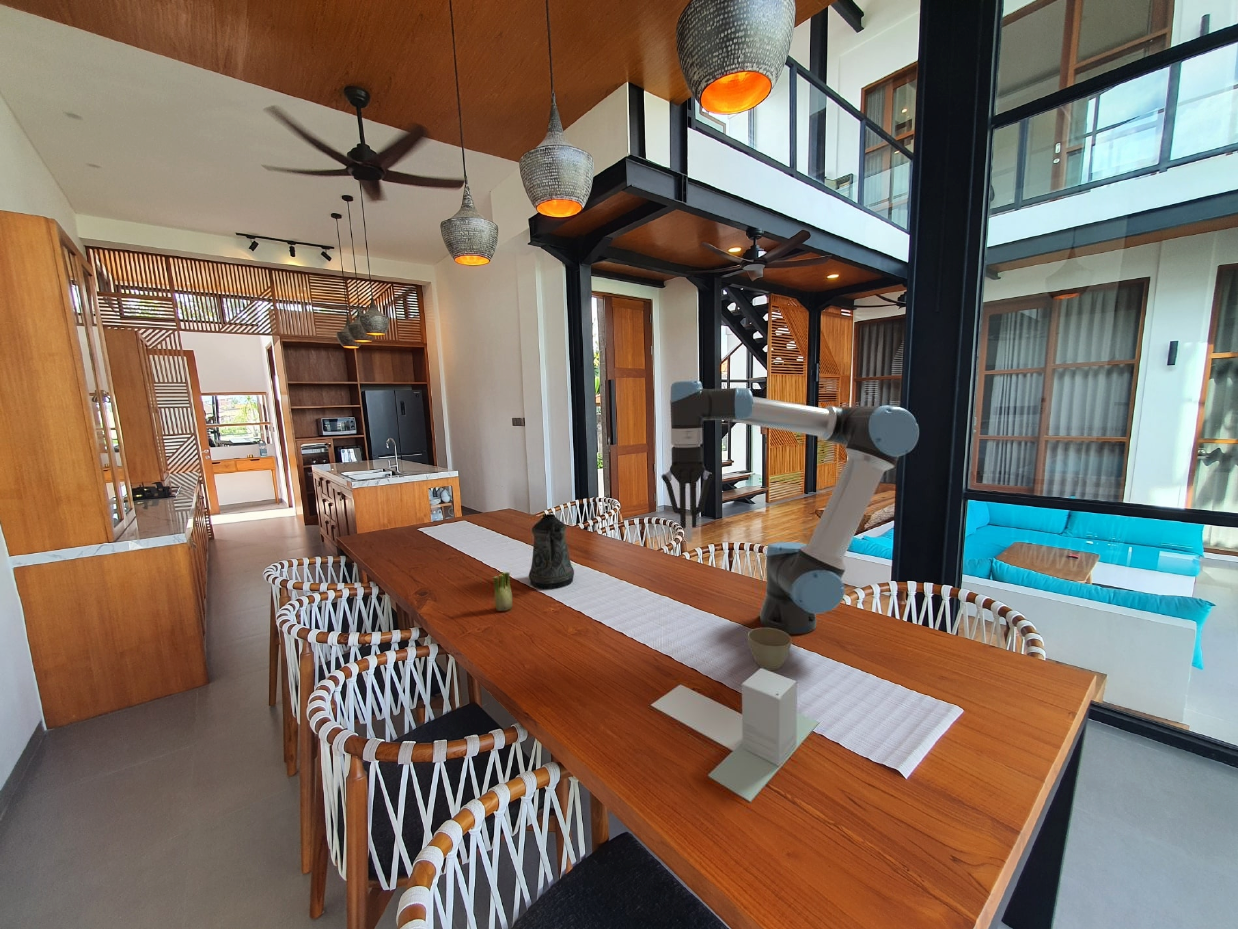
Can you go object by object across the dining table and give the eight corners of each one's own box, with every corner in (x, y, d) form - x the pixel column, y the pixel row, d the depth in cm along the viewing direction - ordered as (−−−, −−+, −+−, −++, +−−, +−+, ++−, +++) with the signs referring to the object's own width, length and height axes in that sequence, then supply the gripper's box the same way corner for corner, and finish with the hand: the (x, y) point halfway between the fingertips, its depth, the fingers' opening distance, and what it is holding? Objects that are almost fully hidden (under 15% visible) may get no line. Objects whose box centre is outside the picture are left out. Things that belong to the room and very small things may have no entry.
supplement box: (797, 746, 88) (798, 681, 86) (778, 768, 83) (779, 699, 81) (761, 727, 93) (761, 666, 92) (740, 747, 88) (740, 683, 86)
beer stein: (551, 571, 188) (548, 508, 185) (589, 580, 177) (586, 513, 174) (519, 584, 175) (515, 517, 172) (558, 595, 163) (555, 523, 160)
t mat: (624, 724, 96) (624, 723, 96) (701, 670, 114) (701, 670, 114) (750, 802, 76) (750, 801, 76) (819, 723, 94) (819, 722, 94)
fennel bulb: (496, 614, 150) (493, 577, 148) (493, 608, 154) (491, 572, 153) (514, 610, 152) (512, 574, 151) (511, 605, 156) (509, 569, 155)
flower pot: (794, 677, 110) (794, 648, 109) (749, 674, 112) (749, 645, 111) (788, 655, 120) (788, 628, 119) (746, 652, 122) (746, 625, 121)
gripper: (661, 447, 113) (663, 545, 116) (716, 446, 113) (717, 543, 116) (658, 445, 120) (661, 537, 123) (710, 443, 120) (711, 535, 123)
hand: (688, 540), depth 119 cm, fingers closed
